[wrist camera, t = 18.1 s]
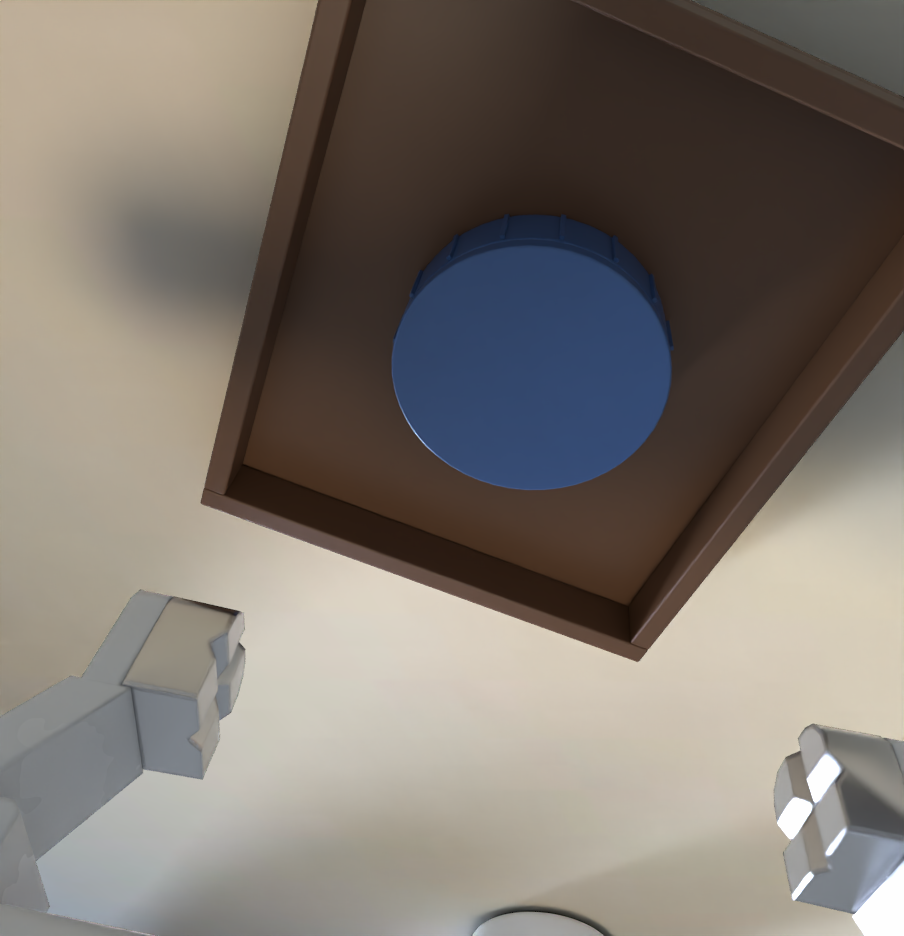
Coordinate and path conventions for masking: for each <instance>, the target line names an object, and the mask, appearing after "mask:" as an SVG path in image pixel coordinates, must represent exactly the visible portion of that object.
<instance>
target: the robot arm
mask: <svg viewBox="0 0 904 936" xmlns="http://www.w3.org/2000/svg"><path fill="white" fill-rule="evenodd" d="M244 630H245V622H244V613H243V612H241V611H237V610H232V609H228V608H223V607H219V606H214V605H210V604H206V603H201V602H197V601H192V600H188V599H183V598H179V597H173V596H169V595H164V594H159V593H155V592H150V591H145V590H141V589H140V590H139V591H138V592H137V593H136V594H134V595H133V596H132V597H131V598H130V600H129V601H128V603H127V604H126V606H125V608H124V609H123V611H122V612H121V614H120V616H119V617H118V619H117V620H116V622H115V624H114V625H113V627H112V628H111V630H110V632H109V633H108V635H107V636H106V638H105V640H104V641H103V643H102V644H101V646H100V648H99V649H98V651H97V653H96V654H95V656H94V657H93V659H92V661H91V662H90V664H89V665H88V667H87V669H86V670H85V672H84V673H83V675H82V677H76V676H69V677H67V678H66V679H64V680H62V681H60V682H59V683H57V684H55V685H54V686H52V687H50V688H48V689H47V690H45V691H43V692H41V693H40V694H38V695H36V696H34V697H33V698H31V699H29V700H27V701H26V702H24V703H22V704H20V705H19V706H17V707H15V708H14V709H12V710H10V711H8V712H7V713H5V714H3V715H1V716H0V936H156V935H151V934H146V933H141V932H136V931H132V930H127V929H122V928H117V927H112V926H108V925H103V924H98V923H93V922H89V921H84V920H79V919H74V918H70V917H65V916H60V915H55V914H50V913H47V911H48V909H49V907H50V905H49V902H48V899H47V896H46V893H45V889H44V886H43V883H42V880H41V877H40V874H39V870H38V867H37V864H36V860H38V859H39V858H40V857H41V856H43V855H44V854H45V853H46V852H47V851H49V850H50V849H51V848H52V847H54V846H55V845H56V844H57V843H58V842H60V841H61V840H62V839H63V838H64V837H66V836H67V835H68V834H69V833H71V832H72V831H73V830H74V829H75V828H77V827H78V826H79V825H80V824H81V823H83V822H84V821H85V820H86V819H88V818H89V817H90V816H91V815H92V814H94V813H95V812H96V811H97V810H98V809H100V808H101V807H102V806H103V805H105V804H106V803H107V802H108V801H109V800H111V799H112V798H113V797H114V796H116V795H117V794H118V793H119V792H120V791H122V790H123V789H124V788H125V787H126V786H128V785H129V784H130V783H131V782H133V781H134V780H135V779H136V778H137V777H139V776H140V775H141V774H142V773H143V769H145V770H151V771H157V772H162V773H168V774H174V775H179V776H185V777H191V778H197V779H202V780H203V778H204V775H205V773H206V771H207V768H208V766H209V764H210V761H211V759H212V756H213V754H214V752H215V749H216V747H217V745H218V742H219V740H220V727H219V720H221V719H222V718H224V717H225V716H227V715H228V714H230V713H231V712H232V709H233V707H234V704H235V702H236V699H237V697H238V693H239V690H240V686H241V683H242V679H243V675H244V667H245V648H244V647H243V646H242V645H241V644H240V642H239V641H240V639H241V636H242V634H243V632H244ZM798 741H799V746H800V750H801V751H799V752H797V753H794V754H792V755H790V756H787V757H786V758H785V759H784V761H783V763H782V765H781V766H780V768H779V770H778V772H777V777H776V782H775V787H774V807H775V813H776V819H777V823H778V824H779V826H780V827H781V828H782V829H783V831H784V832H785V833H786V834H787V836H788V837H789V838H790V839H791V841H790V843H789V844H788V846H787V847H786V849H785V851H784V852H783V856H784V861H785V866H786V871H787V876H788V881H789V886H790V891H791V896H792V900H795V901H800V902H804V903H808V904H813V905H817V906H821V907H826V908H830V909H834V910H839V911H843V912H847V913H852V914H855V915H854V916H853V918H854V920H855V921H856V923H857V924H858V926H859V927H860V929H861V930H862V932H863V933H864V935H865V936H904V741H899V740H894V739H889V738H882V737H881V736H877V735H872V734H866V733H861V732H855V731H850V730H845V729H839V728H834V727H828V726H823V725H818V724H811V725H809V726H807V727H806V728H805V729H804V730H803V732H802V733H801V735H800V736H799V738H798Z"/></svg>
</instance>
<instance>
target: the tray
mask: <svg viewBox="0 0 904 936" xmlns="http://www.w3.org/2000/svg"><path fill="white" fill-rule="evenodd" d="M505 214H509V216H510V217H512V216H519V215H549V216H557V217H561V214H564V215H566V218H567V219H572V220H575V221H578V222H581V223H584V224H587V225H589V226H592V227H594V228H596V229H598V230H600V231H602V232H604V233H606V234H607V235H609V236H610V237H613V236H614V235H615V236H616V237H618V242H619V243H620V244H622V245H623V246H624V247H625V248H626V249H627V250H628V251H629V252H631V253H632V254H633V255H634V256H635V257H636V259H637V260H638V261H639V262H640V263H641V265H642V266H643V267H644V268H645V270H646V271H647V273H648V274H649V275H650V274H651V273H652V274H653V275H654V279H655V286H656V289H657V292H658V294H659V296H660V299H661V303H662V307H663V310H664V314H665V321H668V320H669V323H670V329H671V335H672V341H673V347H674V350H671V351H670V352H671V362H672V377H671V387H670V391H669V396H668V400H667V403H666V406H665V408H664V411H663V414H662V416H661V418H660V419H659V421H658V423H657V425H656V427H655V429H654V430H653V431H652V433H651V434H650V435H649V437H648V438H647V439H646V441H645V442H644V443H643V444H642V445H641V446H640V447H639V448H638V449H637V450H636V451H635V452H634V453H633V454H632V455H631V456H630V457H628V458H627V459H626V460H625V461H623V462H622V463H621V464H619V465H618V466H616V467H615V468H613V469H611V470H610V471H608V472H606V473H604V474H602V475H600V476H598V477H596V478H593V479H591V480H588V481H585V482H582V483H579V484H576V485H572V486H567V487H562V488H556V489H546V490H523V489H513V488H507V487H502V486H497V485H493V484H490V483H487V482H483V481H480V480H478V479H475V478H473V477H471V476H468V475H466V474H464V473H462V472H460V471H459V470H457V469H455V468H453V467H452V466H450V465H448V464H447V463H446V462H444V461H443V460H442V459H440V458H439V457H438V456H436V455H435V454H434V453H433V452H432V451H431V450H430V449H429V448H428V447H427V446H426V445H425V444H424V443H423V442H422V441H421V440H420V438H419V437H418V436H417V435H416V434H415V432H414V431H413V429H412V428H411V426H410V425H409V423H408V422H407V420H406V418H405V416H404V414H403V412H402V410H401V408H400V406H399V403H398V399H397V396H396V393H395V390H394V384H393V378H392V352H393V345H394V343H393V338H394V335H395V333H396V330H397V328H398V326H399V323H400V321H401V318H402V316H403V314H404V312H405V309H406V307H407V304H408V302H409V299H410V296H409V294H410V292H411V289H412V287H413V284H414V282H415V280H416V277H417V275H418V272H419V271H420V270H422V271H424V270H425V268H426V267H427V265H428V264H429V263H430V262H431V261H432V259H433V258H434V257H435V256H436V255H437V254H438V253H439V252H440V251H441V250H442V249H443V248H444V247H446V246H447V245H448V244H449V243H450V242H451V241H452V240H453V237H454V235H456V234H458V235H459V236H461V235H462V234H464V233H465V232H467V231H469V230H471V229H473V228H475V227H478V226H480V225H482V224H485V223H488V222H491V221H494V220H497V219H501V218H504V215H505ZM903 331H904V97H902V96H900V95H898V94H895V93H893V92H891V91H889V90H887V89H884V88H882V87H880V86H878V85H876V84H874V83H871V82H869V81H867V80H865V79H863V78H860V77H858V76H856V75H854V74H852V73H849V72H847V71H845V70H843V69H841V68H838V67H836V66H834V65H832V64H830V63H828V62H825V61H823V60H821V59H819V58H817V57H814V56H812V55H810V54H808V53H806V52H803V51H801V50H799V49H797V48H795V47H792V46H790V45H788V44H786V43H784V42H782V41H779V40H777V39H775V38H773V37H771V36H768V35H766V34H764V33H762V32H760V31H757V30H755V29H753V28H751V27H749V26H746V25H744V24H742V23H740V22H738V21H735V20H733V19H731V18H729V17H727V16H725V15H722V14H720V13H718V12H716V11H714V10H711V9H709V8H707V7H705V6H703V5H700V4H698V3H696V2H694V1H692V0H318V4H317V8H316V13H315V17H314V21H313V25H312V30H311V34H310V38H309V42H308V47H307V51H306V55H305V60H304V64H303V68H302V72H301V77H300V81H299V85H298V89H297V94H296V98H295V102H294V106H293V111H292V115H291V119H290V123H289V128H288V132H287V136H286V140H285V145H284V149H283V153H282V158H281V162H280V166H279V170H278V175H277V179H276V183H275V187H274V192H273V196H272V200H271V204H270V209H269V213H268V217H267V221H266V226H265V230H264V234H263V238H262V243H261V247H260V251H259V255H258V260H257V264H256V268H255V273H254V277H253V281H252V285H251V290H250V294H249V298H248V302H247V307H246V311H245V315H244V319H243V324H242V328H241V332H240V336H239V341H238V345H237V349H236V353H235V358H234V362H233V366H232V371H231V375H230V379H229V383H228V388H227V392H226V396H225V400H224V405H223V409H222V413H221V417H220V422H219V426H218V430H217V434H216V439H215V443H214V447H213V451H212V456H211V460H210V464H209V468H208V473H207V477H206V481H205V488H204V489H203V494H202V498H201V504H202V505H205V506H208V507H211V508H213V509H216V510H219V511H222V512H224V513H227V514H230V515H233V516H236V517H238V518H241V519H244V520H247V521H249V522H252V523H255V524H258V525H260V526H263V527H266V528H269V529H271V530H274V531H277V532H280V533H283V534H285V535H288V536H291V537H294V538H296V539H299V540H302V541H305V542H307V543H310V544H313V545H316V546H318V547H321V548H324V549H327V550H330V551H332V552H335V553H338V554H341V555H343V556H346V557H349V558H352V559H354V560H357V561H360V562H363V563H365V564H368V565H371V566H374V567H377V568H379V569H382V570H385V571H388V572H390V573H393V574H396V575H399V576H401V577H404V578H407V579H410V580H412V581H415V582H418V583H421V584H424V585H426V586H429V587H432V588H435V589H437V590H440V591H443V592H446V593H448V594H451V595H454V596H457V597H459V598H462V599H465V600H468V601H471V602H473V603H476V604H479V605H482V606H484V607H487V608H490V609H493V610H495V611H498V612H501V613H504V614H506V615H509V616H512V617H515V618H518V619H520V620H523V621H526V622H529V623H531V624H534V625H537V626H540V627H542V628H545V629H548V630H551V631H553V632H556V633H559V634H562V635H565V636H567V637H570V638H573V639H576V640H578V641H581V642H584V643H587V644H589V645H592V646H595V647H598V648H600V649H603V650H606V651H609V652H612V653H614V654H617V655H620V656H623V657H625V658H628V659H631V660H634V661H636V662H639V661H640V660H641V658H642V657H643V656H644V655H645V653H646V652H647V650H648V649H649V648H650V647H651V646H652V644H653V643H654V642H655V641H656V639H657V638H658V637H659V636H660V634H661V633H662V632H663V631H664V629H665V628H666V627H667V626H668V624H669V623H670V622H671V621H672V619H673V618H674V617H675V616H676V614H677V613H678V612H679V611H680V609H681V608H682V607H683V606H684V604H685V603H686V602H687V601H688V599H689V598H690V597H691V596H692V594H693V593H694V592H695V591H696V589H697V588H698V587H699V586H700V584H701V583H702V582H703V581H704V579H705V578H706V577H707V576H708V574H709V573H710V572H711V571H712V569H713V568H714V567H715V566H716V564H717V563H718V562H719V561H720V559H721V558H722V557H723V556H724V554H725V553H726V552H727V551H728V549H729V548H730V547H731V546H732V544H733V543H734V542H735V541H736V539H737V538H738V537H739V536H740V534H741V533H742V532H743V531H744V529H745V528H746V527H747V526H748V524H749V523H750V522H751V521H752V519H753V518H754V517H755V516H756V514H757V513H758V512H759V511H760V509H761V508H762V507H763V506H764V504H765V503H766V502H767V501H768V500H769V498H770V497H771V496H772V495H773V493H774V492H775V491H776V490H777V488H778V487H779V486H780V485H781V483H782V482H783V481H784V480H785V478H786V477H787V476H788V475H789V473H790V472H791V471H792V470H793V468H794V467H795V466H796V465H797V463H798V462H799V461H800V460H801V458H802V457H803V456H804V455H805V453H806V452H807V451H808V450H809V448H810V447H811V446H812V445H813V443H814V442H815V441H816V440H817V438H818V437H819V436H820V435H821V433H822V432H823V431H824V430H825V428H826V427H827V426H828V425H829V423H830V422H831V421H832V420H833V418H834V417H835V416H836V415H837V413H838V412H839V411H840V410H841V408H842V407H843V406H844V405H845V403H846V402H847V401H848V400H849V398H850V397H851V396H852V395H853V393H854V392H855V391H856V390H857V388H858V387H859V386H860V385H861V383H862V382H863V381H864V380H865V378H866V377H867V376H868V375H869V373H870V372H871V371H872V370H873V368H874V367H875V366H876V365H877V363H878V362H879V361H880V360H881V358H882V357H883V356H884V355H885V353H886V352H887V351H888V350H889V348H890V347H891V346H892V345H893V343H894V342H895V341H896V340H897V338H898V337H899V336H900V335H901V333H902V332H903Z"/></svg>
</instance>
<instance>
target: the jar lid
mask: <svg viewBox="0 0 904 936" xmlns="http://www.w3.org/2000/svg"><path fill="white" fill-rule="evenodd" d="M409 296H410V299H409V302H408V304H407V307H406V309H405V312H404V314H403V316H402V318H401V321H400V323H399V326H398V328H397V330H396V333H395V335H394V338H393V343H394V345H393V352H392V378H393V384H394V390H395V393H396V396H397V399H398V403H399V406H400V408H401V410H402V412H403V414H404V416H405V418H406V420H407V422H408V423H409V425H410V426H411V428H412V429H413V431H414V432H415V434H416V435H417V436H418V437H419V438H420V440H421V441H422V442H423V443H424V444H425V445H426V446H427V447H428V448H429V449H430V450H431V451H432V452H433V453H434V454H435V455H436V456H438V457H439V458H440V459H442V460H443V461H444V462H446V463H447V464H448V465H450V466H452V467H453V468H455V469H457V470H459V471H460V472H462V473H464V474H466V475H468V476H471V477H473V478H475V479H478V480H480V481H483V482H487V483H490V484H493V485H497V486H502V487H507V488H513V489H523V490H546V489H556V488H562V487H567V486H572V485H576V484H579V483H582V482H585V481H588V480H591V479H593V478H596V477H598V476H600V475H602V474H604V473H606V472H608V471H610V470H611V469H613V468H615V467H616V466H618V465H619V464H621V463H622V462H623V461H625V460H626V459H627V458H628V457H630V456H631V455H632V454H633V453H634V452H635V451H636V450H637V449H638V448H639V447H640V446H641V445H642V444H643V443H644V442H645V441H646V439H647V438H648V437H649V435H650V434H651V433H652V431H653V430H654V429H655V427H656V425H657V423H658V421H659V419H660V418H661V416H662V414H663V411H664V408H665V406H666V403H667V400H668V396H669V391H670V387H671V377H672V362H671V352H670V351H671V350H674V347H673V341H672V335H671V329H670V323H669V320H668V321H665V314H664V310H663V307H662V303H661V299H660V296H659V294H658V292H657V289H656V286H655V279H654V275H653V274H652V273H651V274H650V275H649V274H648V273H647V271H646V270H645V268H644V267H643V266H642V265H641V263H640V262H639V261H638V260H637V259H636V257H635V256H634V255H633V254H632V253H631V252H629V251H628V250H627V249H626V248H625V247H624V246H623V245H622V244H620V243H619V242H618V237H616V236H615V235H614V236H613V237H610V236H609V235H607V234H606V233H604V232H602V231H600V230H598V229H596V228H594V227H592V226H589V225H587V224H584V223H581V222H578V221H575V220H572V219H567V218H566V215H564V214H561V217H557V216H549V215H519V216H512V217H510V216H509V214H505V215H504V218H501V219H497V220H494V221H491V222H488V223H485V224H482V225H480V226H478V227H475V228H473V229H471V230H469V231H467V232H465V233H464V234H462V235H461V236H459V235H458V234H456V235H454V237H453V240H452V241H451V242H450V243H449V244H448V245H447V246H446V247H444V248H443V249H442V250H441V251H440V252H439V253H438V254H437V255H436V256H435V257H434V258H433V259H432V261H431V262H430V263H429V264H428V265H427V267H426V268H425V270H424V271H422V270H420V271H419V272H418V275H417V277H416V280H415V282H414V284H413V287H412V289H411V292H410V294H409Z"/></svg>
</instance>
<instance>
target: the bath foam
mask: <svg viewBox="0 0 904 936" xmlns="http://www.w3.org/2000/svg"><path fill="white" fill-rule="evenodd" d="M472 936H604V935H603V934H601V933H600V932H599V931H597V930H596V929H594V928H593V927H591V926H589V925H587V924H585V923H583V922H580V921H578V920H575V919H572V918H569V917H565V916H561V915H556V914H551V913H543V912H517V913H510V914H505V915H501V916H498V917H495V918H492V919H490V920H488V921H486V922H485V923H483V924H482V925H481V926H479V927H478V928H477V930H476V931H475V932H474V933H473V935H472Z"/></svg>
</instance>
